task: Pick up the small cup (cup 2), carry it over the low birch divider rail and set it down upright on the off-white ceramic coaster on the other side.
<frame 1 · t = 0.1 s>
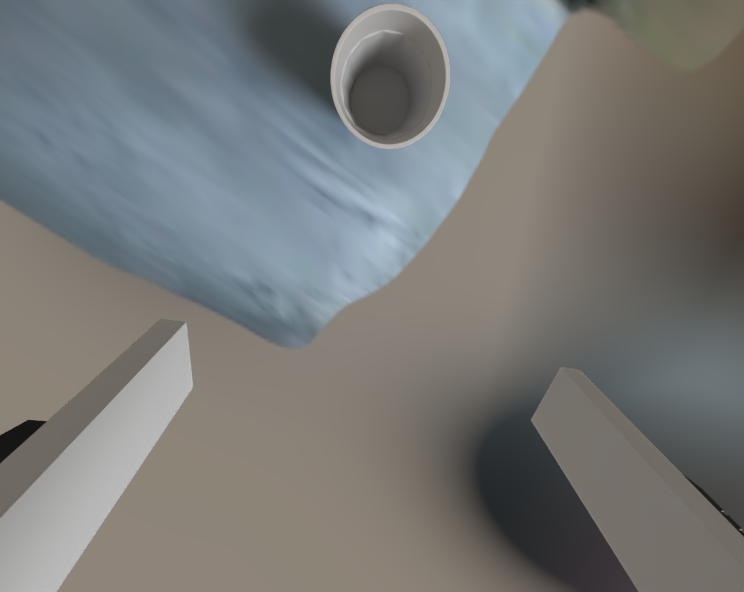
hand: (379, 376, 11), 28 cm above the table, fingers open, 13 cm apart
cup: (378, 103, 31), on the table
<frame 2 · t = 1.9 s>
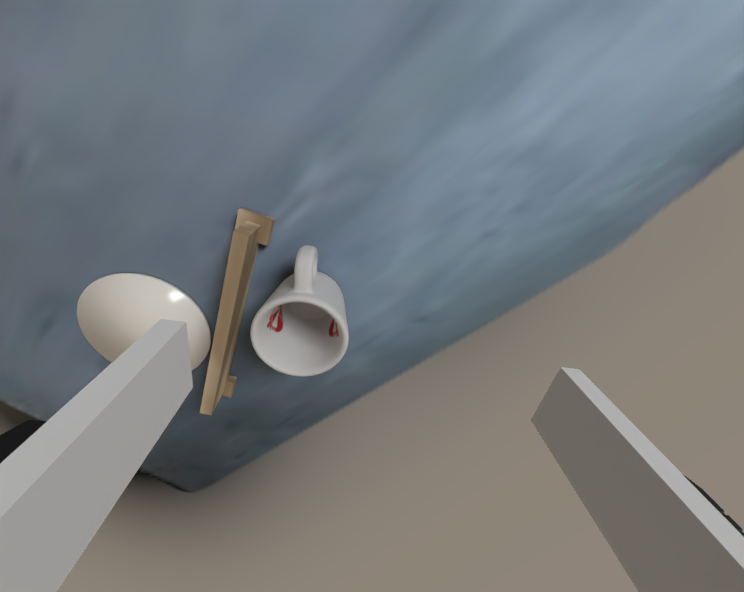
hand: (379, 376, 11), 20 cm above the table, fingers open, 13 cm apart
divider rail: (237, 313, 32), on the table
coaster: (148, 328, 33), on the table
cup 2: (312, 282, 32), on the table
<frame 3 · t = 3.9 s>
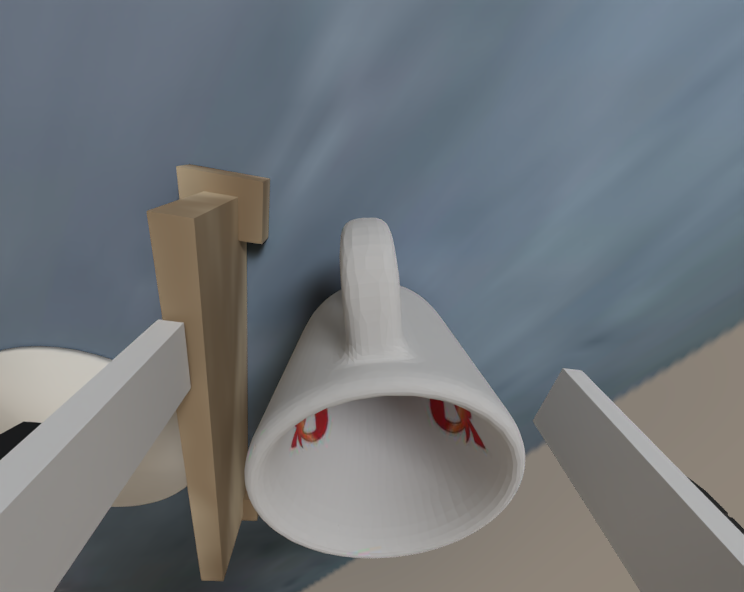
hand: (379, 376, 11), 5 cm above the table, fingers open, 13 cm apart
divider rail: (236, 386, 17), on the table
coaster: (88, 435, 18), on the table
cup 2: (370, 305, 15), on the table
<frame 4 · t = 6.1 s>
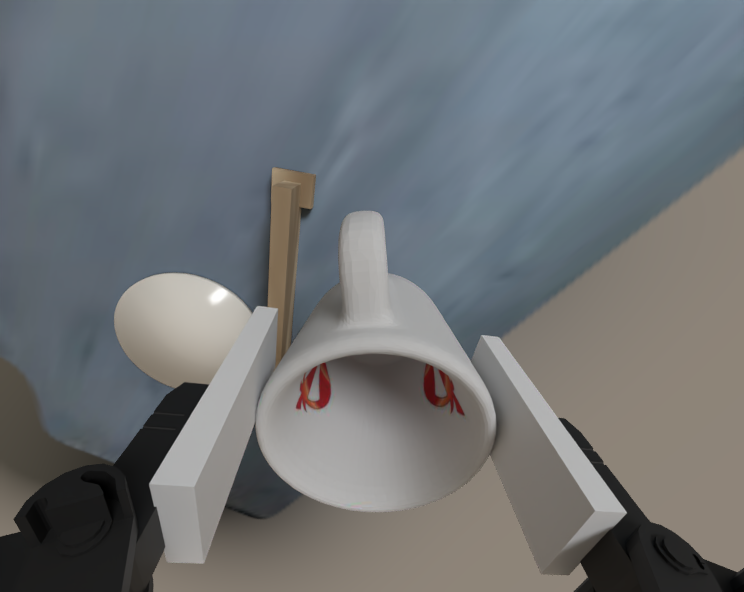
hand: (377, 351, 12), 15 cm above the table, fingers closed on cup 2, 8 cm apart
divider rail: (287, 302, 28), on the table
coaster: (192, 336, 29), on the table
cup 2: (374, 295, 17), point 10 cm above the table, touching gripper
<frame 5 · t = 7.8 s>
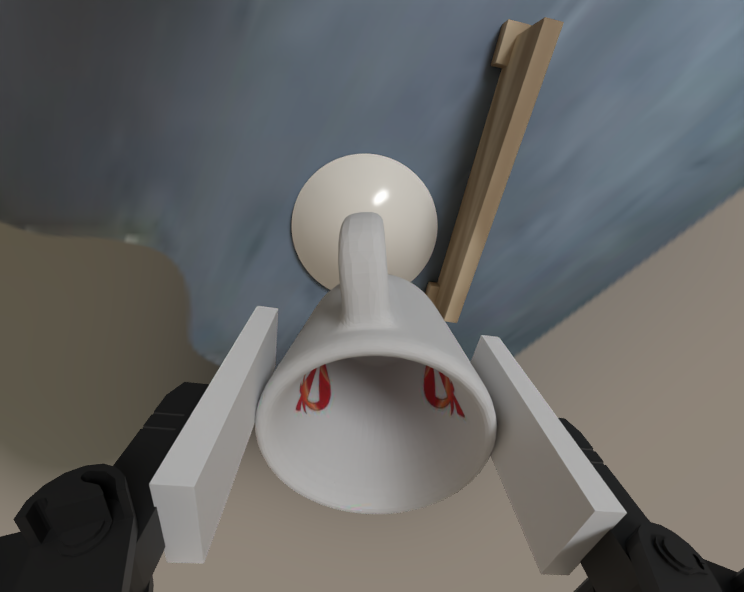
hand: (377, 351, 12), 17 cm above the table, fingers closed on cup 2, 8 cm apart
divider rail: (471, 192, 27), on the table
coaster: (365, 232, 28), on the table
cup 2: (374, 296, 17), point 12 cm above the table, touching gripper
when the fingers open (5 cm above the table, at t = 10.1 s): cup 2 stays where it is, resting on coaster.
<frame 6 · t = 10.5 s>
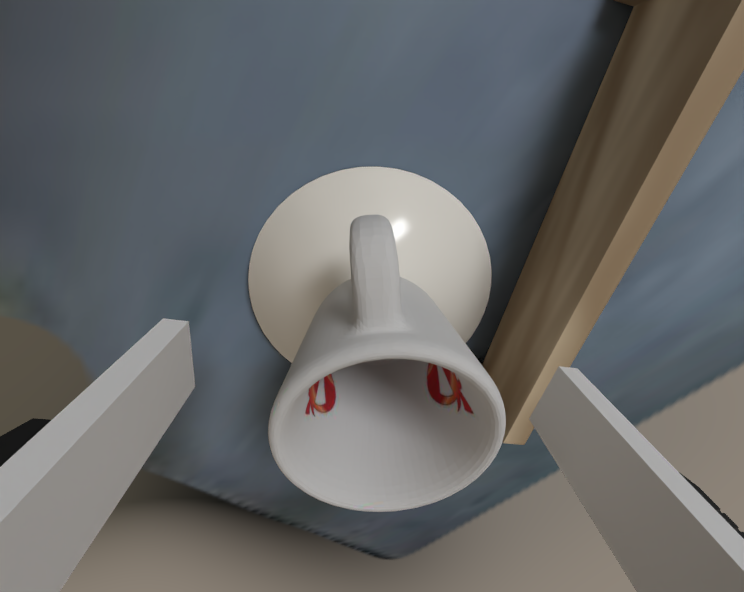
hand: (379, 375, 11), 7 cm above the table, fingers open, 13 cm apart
divider rail: (550, 230, 16), on the table
coaster: (371, 293, 17), on the table
cup 2: (373, 296, 17), resting on coaster
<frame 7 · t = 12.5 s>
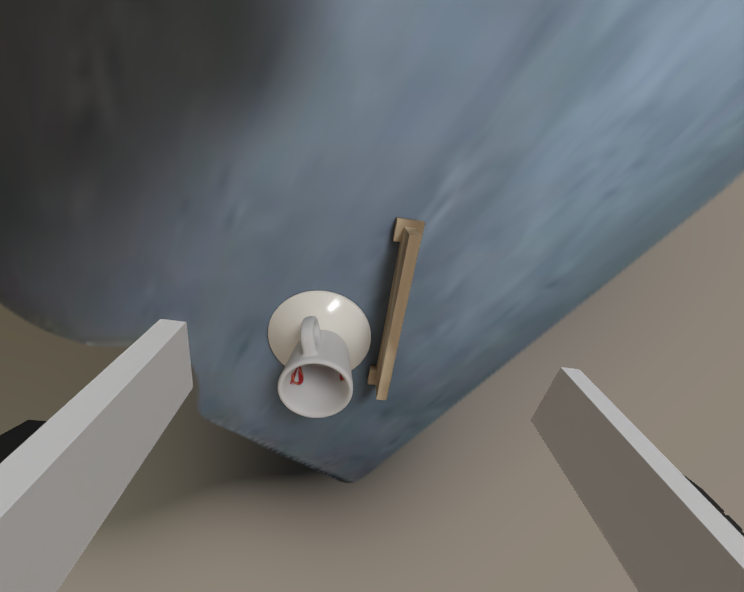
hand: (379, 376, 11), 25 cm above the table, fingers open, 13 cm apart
divider rail: (392, 309, 38), on the table
coaster: (320, 336, 39), on the table
cup 2: (321, 337, 39), resting on coaster
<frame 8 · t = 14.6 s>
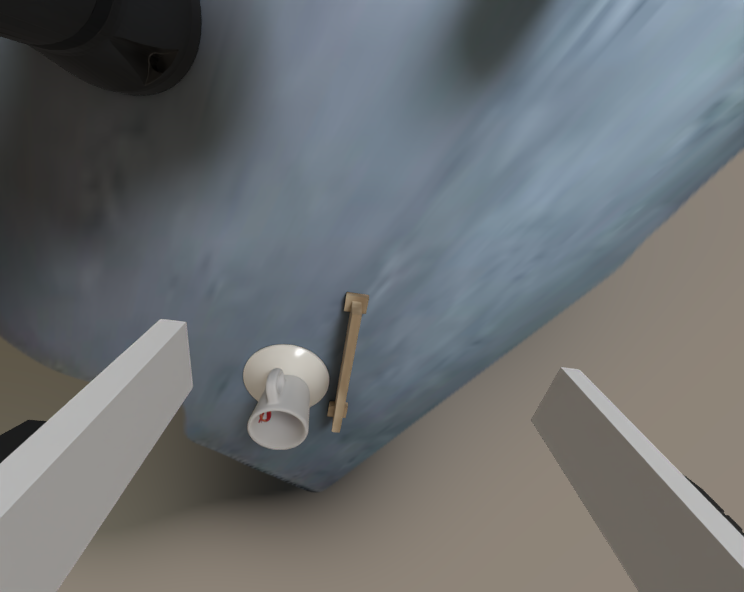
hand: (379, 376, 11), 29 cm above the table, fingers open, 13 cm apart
divider rail: (346, 359, 46), on the table
coaster: (287, 378, 47), on the table
cup 2: (287, 379, 47), resting on coaster
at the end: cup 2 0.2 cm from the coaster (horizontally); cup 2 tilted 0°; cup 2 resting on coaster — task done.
